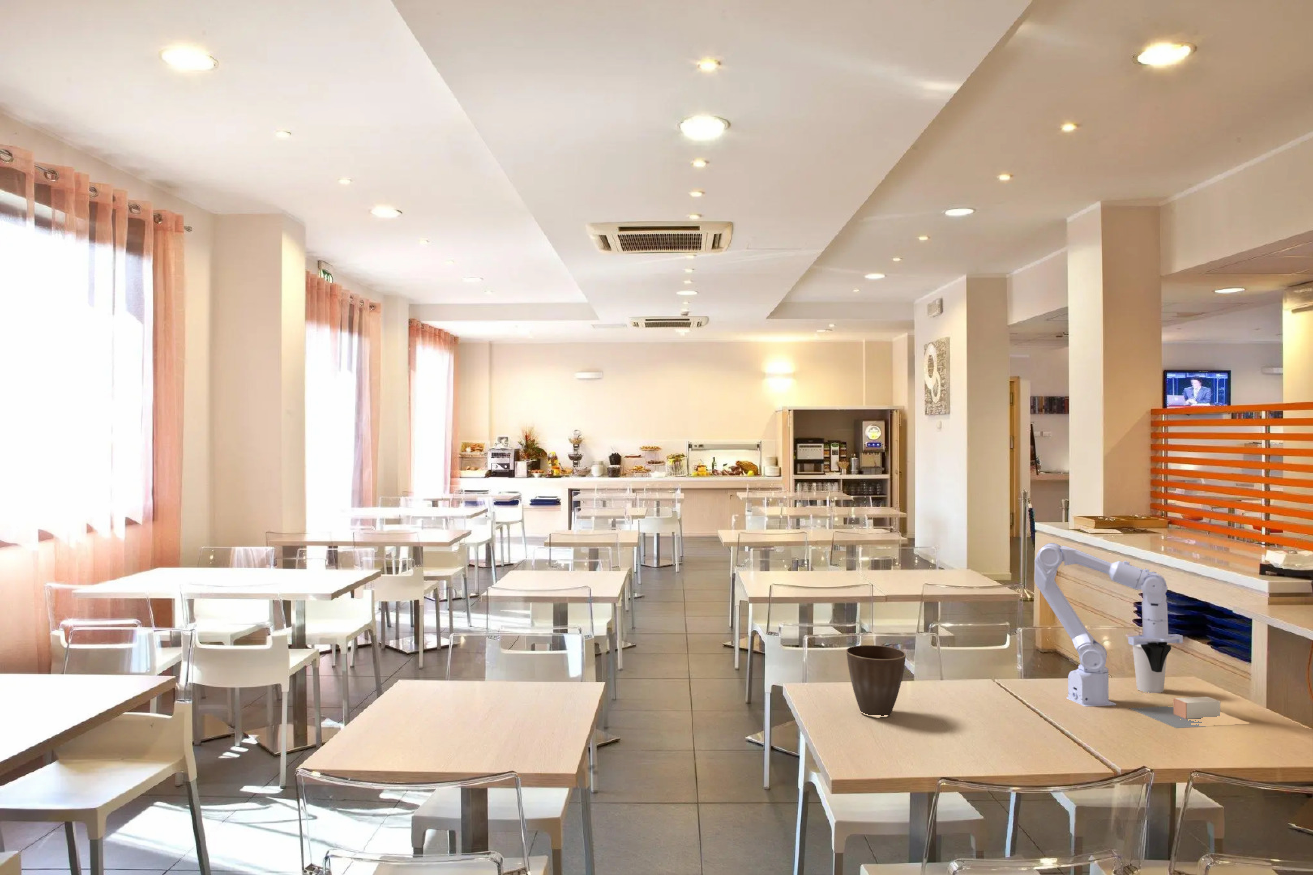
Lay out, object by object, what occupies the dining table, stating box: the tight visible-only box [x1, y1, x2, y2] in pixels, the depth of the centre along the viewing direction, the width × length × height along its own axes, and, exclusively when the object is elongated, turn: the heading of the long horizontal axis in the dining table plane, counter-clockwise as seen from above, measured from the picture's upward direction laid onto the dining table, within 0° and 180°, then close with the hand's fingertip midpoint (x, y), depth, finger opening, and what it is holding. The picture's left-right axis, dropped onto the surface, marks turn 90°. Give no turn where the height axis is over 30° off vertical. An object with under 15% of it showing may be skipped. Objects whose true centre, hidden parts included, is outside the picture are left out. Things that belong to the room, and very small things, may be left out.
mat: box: [1128, 705, 1206, 729], centre depth 211 cm, size 22×16×1 cm
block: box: [1172, 696, 1221, 719], centre depth 211 cm, size 4×4×10 cm
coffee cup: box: [1131, 635, 1169, 694], centre depth 235 cm, size 10×10×15 cm
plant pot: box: [845, 644, 907, 716], centre depth 212 cm, size 15×15×16 cm
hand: (1156, 671), depth 216 cm, fingers closed
